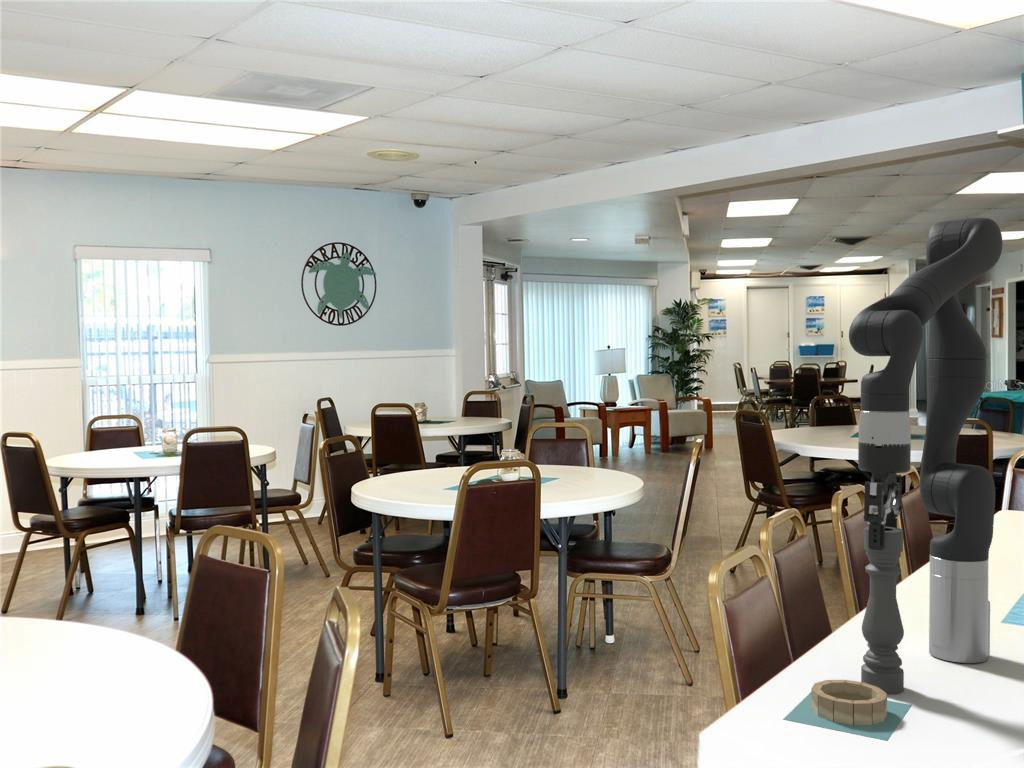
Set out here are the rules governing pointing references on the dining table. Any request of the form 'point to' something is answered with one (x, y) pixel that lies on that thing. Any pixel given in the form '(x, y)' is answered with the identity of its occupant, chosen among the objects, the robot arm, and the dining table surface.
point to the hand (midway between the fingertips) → (883, 545)
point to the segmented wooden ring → (849, 702)
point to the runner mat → (877, 731)
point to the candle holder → (883, 616)
